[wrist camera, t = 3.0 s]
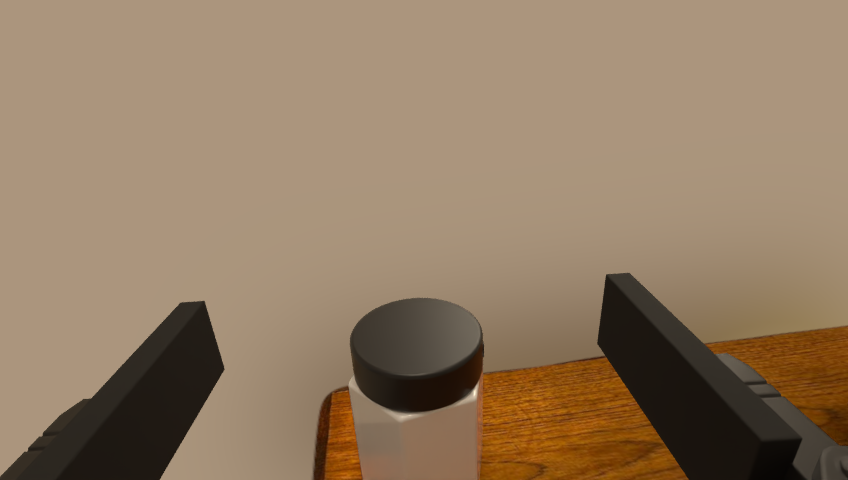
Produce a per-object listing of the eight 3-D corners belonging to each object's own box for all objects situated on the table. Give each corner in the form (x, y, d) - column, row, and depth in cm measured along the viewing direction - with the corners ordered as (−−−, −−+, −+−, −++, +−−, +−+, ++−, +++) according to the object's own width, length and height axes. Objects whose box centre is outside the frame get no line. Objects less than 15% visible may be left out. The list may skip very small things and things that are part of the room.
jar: (509, 465, 31) (515, 326, 26) (436, 559, 25) (427, 403, 20) (418, 406, 36) (409, 283, 32) (342, 472, 31) (317, 334, 26)
